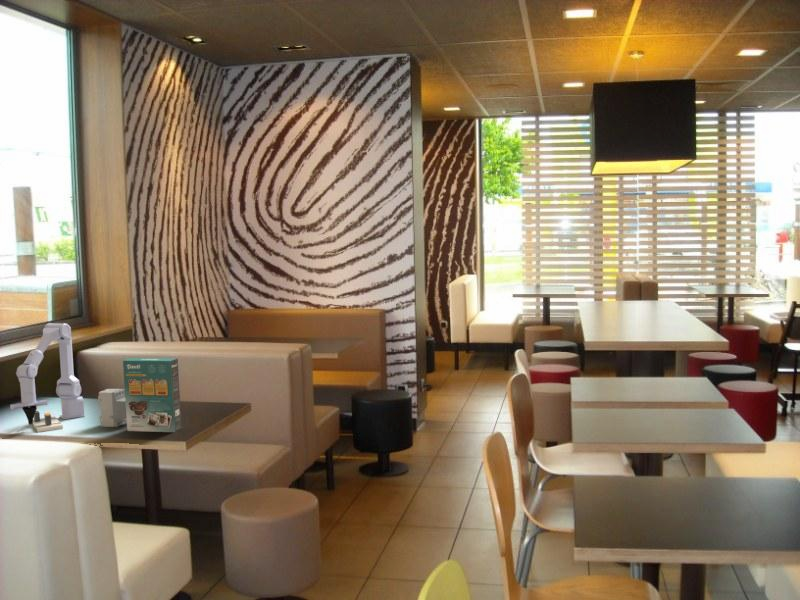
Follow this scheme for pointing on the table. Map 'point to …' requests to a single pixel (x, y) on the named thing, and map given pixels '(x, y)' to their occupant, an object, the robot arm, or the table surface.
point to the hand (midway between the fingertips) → (30, 423)
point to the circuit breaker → (112, 407)
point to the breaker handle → (47, 418)
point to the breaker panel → (41, 426)
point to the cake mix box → (152, 394)
